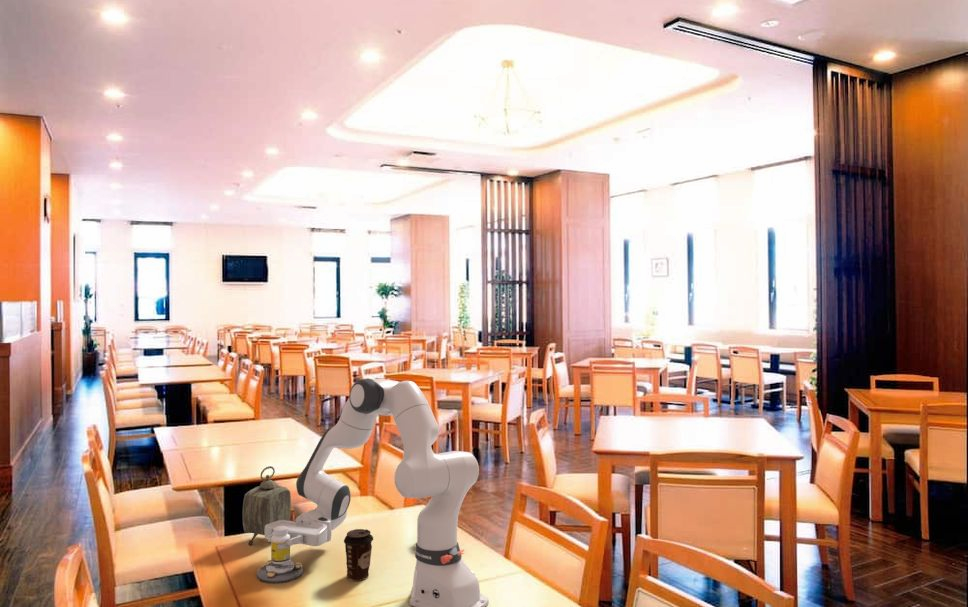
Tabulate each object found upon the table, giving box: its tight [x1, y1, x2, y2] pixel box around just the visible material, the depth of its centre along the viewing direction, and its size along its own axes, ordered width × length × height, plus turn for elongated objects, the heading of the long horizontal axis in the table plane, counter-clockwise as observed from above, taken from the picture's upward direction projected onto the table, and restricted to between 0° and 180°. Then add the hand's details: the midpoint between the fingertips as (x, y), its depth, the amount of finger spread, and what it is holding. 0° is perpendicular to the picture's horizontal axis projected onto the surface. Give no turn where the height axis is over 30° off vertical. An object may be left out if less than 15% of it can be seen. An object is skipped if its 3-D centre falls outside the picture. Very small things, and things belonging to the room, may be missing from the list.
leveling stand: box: [256, 559, 304, 584], centre depth 196 cm, size 13×13×3 cm
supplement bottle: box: [270, 526, 291, 564], centre depth 196 cm, size 5×5×10 cm
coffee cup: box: [343, 528, 374, 582], centre depth 195 cm, size 9×8×13 cm
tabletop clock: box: [241, 466, 292, 546], centre depth 222 cm, size 14×9×25 cm, turn 160°
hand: (278, 541), depth 195 cm, fingers closed on supplement bottle, 5 cm apart
